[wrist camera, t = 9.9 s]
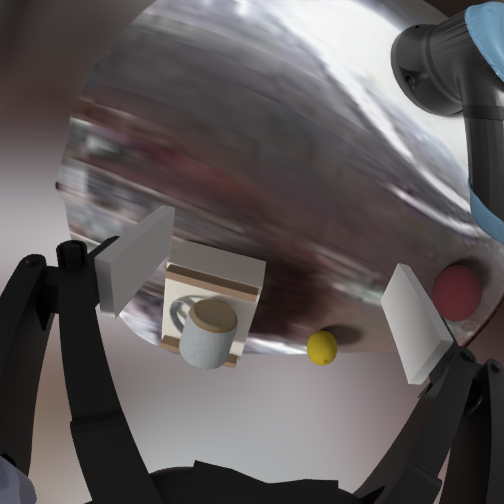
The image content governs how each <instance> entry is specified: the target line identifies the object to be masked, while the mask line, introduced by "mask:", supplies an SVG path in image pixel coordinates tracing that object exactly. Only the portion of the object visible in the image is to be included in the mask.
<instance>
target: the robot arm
mask: <svg viewBox="0 0 504 504" xmlns="http://www.w3.org/2000/svg"><path fill="white" fill-rule="evenodd" d="M391 65H392V70H393V73H394V76H395V78H396V81H397V83H398V84H399V86H400V88H401V89H402V91H403V92H404V94H405V95H406V96H407V97H408V98H409V99H410V100H411V101H412V102H413V103H414V104H415V105H416V106H418V107H419V108H421V109H422V110H424V111H426V112H428V113H431V114H435V115H445V116H450V115H456V114H459V113H461V112H463V114H464V122H465V130H466V140H467V152H468V169H469V178H468V187H469V190H470V209H471V213H472V216H473V218H474V219H475V220H476V223H477V224H478V226H479V227H480V228H481V229H482V230H483V231H484V232H485V233H487V234H488V235H489V236H491V237H492V238H494V239H495V240H497V241H499V242H501V243H502V244H504V4H503V3H500V2H487V3H484V4H480V5H474V6H471V7H469V8H468V9H467V10H466V11H463V12H462V13H459V14H457V15H456V16H454V17H452V18H450V19H448V20H446V21H444V22H442V23H440V24H439V25H427V24H419V25H414V26H411V27H409V28H407V29H406V30H404V31H403V32H401V33H400V34H399V35H398V36H397V37H396V39H395V41H394V43H393V45H392V49H391ZM174 213H175V208H174V207H169V206H164V205H162V206H161V207H159V208H158V209H157V210H155V211H154V212H153V213H151V214H150V215H148V216H147V217H146V218H144V219H143V220H142V221H140V222H139V223H138V224H136V225H135V226H134V227H132V228H131V229H130V230H128V231H127V232H126V233H125V234H123V235H122V236H121V237H119V236H114V237H111V238H108V239H107V240H105V241H104V242H103V243H101V245H99V246H97V247H96V248H95V249H94V250H92V251H91V252H90V253H88V254H87V245H86V244H85V243H84V242H82V241H79V240H70V241H65V242H63V243H61V244H60V245H58V246H57V248H56V252H57V260H58V266H59V267H55V266H47V264H46V259H45V257H44V256H42V255H39V254H31V255H28V256H26V257H24V258H23V259H22V260H21V261H20V262H19V264H18V266H17V267H16V269H15V271H14V272H13V275H12V276H11V278H10V279H9V281H8V283H7V285H6V287H5V289H4V291H3V292H2V294H1V296H0V504H35V503H36V500H37V497H36V494H35V489H34V486H33V484H32V482H31V481H30V479H29V478H28V474H29V468H30V462H31V450H32V433H33V423H34V413H35V405H36V398H37V391H38V385H39V379H40V374H41V369H42V364H43V359H44V354H45V350H46V346H47V341H48V338H49V334H50V330H51V326H52V323H53V319H54V316H55V313H56V314H59V327H60V341H61V351H62V360H63V368H64V376H65V383H66V389H67V394H68V400H69V405H70V410H71V415H72V421H71V422H70V429H71V434H72V438H73V442H74V446H75V449H76V453H77V456H78V460H79V463H80V466H81V469H82V472H83V476H84V478H85V481H86V484H87V487H88V490H89V492H90V495H91V497H92V501H90V502H87V503H85V504H433V503H434V501H435V499H436V497H437V495H438V493H439V491H440V489H441V486H442V480H440V479H439V478H437V477H438V474H439V472H440V470H441V468H442V466H443V463H444V461H445V459H446V457H447V454H448V452H449V449H450V447H451V450H450V456H449V462H448V467H447V473H446V477H445V481H444V486H443V490H442V494H441V498H440V502H439V504H504V370H503V367H502V366H501V364H500V363H499V362H498V361H496V360H495V359H492V358H490V359H488V360H487V361H486V363H485V364H484V365H481V364H478V363H476V359H475V356H474V355H473V354H472V352H471V351H470V350H468V349H467V348H465V347H462V346H459V345H458V343H457V341H456V340H455V338H454V336H453V334H452V332H450V329H449V327H448V326H447V323H446V322H445V320H444V318H443V317H442V316H441V315H440V314H439V313H438V312H437V310H436V308H435V307H434V305H433V303H432V302H431V300H430V298H429V297H428V295H427V294H426V292H425V290H424V289H423V287H422V286H421V284H420V282H419V281H418V279H417V278H416V276H415V275H414V273H413V272H412V270H411V269H410V267H409V266H407V265H403V264H400V263H398V265H397V267H396V269H395V272H394V274H393V276H392V278H391V280H390V282H389V284H388V287H387V289H386V291H385V293H384V295H383V297H382V299H381V301H380V302H381V304H382V307H383V310H384V312H385V315H386V318H387V320H388V323H389V326H390V328H391V331H392V334H393V337H394V340H395V343H396V345H397V348H398V351H399V354H400V357H401V360H402V363H403V367H404V370H405V373H406V376H407V379H408V383H409V384H422V383H423V381H424V380H425V379H426V378H427V376H428V375H429V378H430V381H431V382H430V383H429V384H428V385H427V386H426V388H425V389H424V390H423V391H422V392H421V393H420V394H419V396H418V398H419V397H421V398H420V399H419V401H418V403H417V405H416V407H415V408H414V410H413V412H412V414H411V415H410V417H409V419H408V420H407V422H406V424H405V425H404V427H403V428H402V430H401V432H400V433H399V435H398V436H397V438H396V439H395V441H394V442H393V444H392V445H391V447H390V448H389V450H388V451H387V453H386V454H385V456H384V457H383V458H382V460H381V461H380V462H379V464H378V465H377V466H376V468H375V469H374V470H373V472H372V473H371V474H370V476H369V477H368V478H367V479H366V481H365V482H364V483H363V485H361V487H360V488H359V489H358V490H356V491H355V492H354V493H353V494H351V493H349V492H347V491H345V490H342V489H339V488H338V480H312V479H303V480H296V481H289V482H280V483H265V482H263V481H260V480H257V479H255V478H252V477H250V476H247V475H245V474H242V473H240V472H238V471H235V470H233V469H230V468H225V467H221V466H217V465H212V464H208V463H204V462H200V461H197V460H195V462H194V466H193V467H173V468H166V469H162V470H158V471H155V472H153V473H150V474H149V473H148V471H147V469H146V466H145V464H144V462H143V460H142V458H141V456H140V453H139V451H138V448H137V446H136V444H135V441H134V439H133V437H132V434H131V432H130V429H129V426H128V423H127V421H126V418H125V416H124V413H123V411H122V408H121V405H120V402H119V400H118V396H117V393H116V390H115V387H114V384H113V380H112V377H111V373H110V370H109V366H108V363H107V359H106V355H105V351H104V347H103V343H102V339H101V334H100V330H99V325H98V320H97V315H96V310H95V307H96V306H97V305H98V303H99V304H100V310H101V313H102V314H104V315H107V316H110V317H112V318H115V319H116V317H117V316H118V315H119V314H120V312H121V311H122V310H123V309H124V307H125V306H126V305H127V304H128V302H129V301H130V300H131V299H132V297H133V296H134V295H135V294H136V292H137V291H138V290H139V289H140V287H141V286H142V285H143V284H144V283H145V281H146V280H147V279H148V278H149V277H150V275H151V274H152V273H153V272H154V271H155V269H156V268H157V267H158V266H159V265H160V264H161V262H162V261H163V260H164V259H165V258H166V256H167V255H168V254H169V253H170V252H171V247H172V234H173V223H174ZM479 403H480V404H479Z"/></svg>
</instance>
